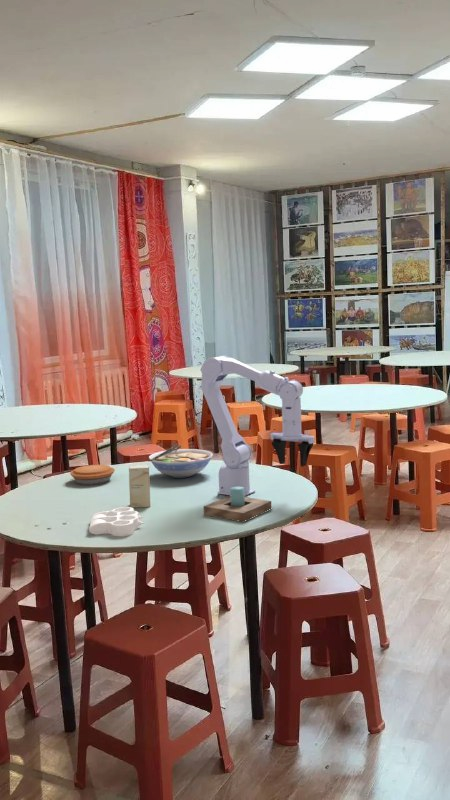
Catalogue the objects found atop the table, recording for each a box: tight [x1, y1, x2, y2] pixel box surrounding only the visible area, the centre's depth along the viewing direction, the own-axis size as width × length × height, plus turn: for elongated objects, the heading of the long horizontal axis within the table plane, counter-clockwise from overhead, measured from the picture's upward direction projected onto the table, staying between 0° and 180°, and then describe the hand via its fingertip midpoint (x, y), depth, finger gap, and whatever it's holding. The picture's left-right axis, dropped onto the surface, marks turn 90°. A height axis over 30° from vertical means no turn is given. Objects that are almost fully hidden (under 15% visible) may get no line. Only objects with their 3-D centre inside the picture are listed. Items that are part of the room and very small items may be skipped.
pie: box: [69, 464, 116, 486], centre depth 252 cm, size 15×16×5 cm
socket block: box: [203, 495, 273, 522], centre depth 208 cm, size 14×14×2 cm
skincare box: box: [128, 464, 151, 508], centre depth 218 cm, size 6×4×12 cm
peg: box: [230, 487, 246, 508], centre depth 207 cm, size 4×4×7 cm
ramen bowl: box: [148, 444, 214, 479], centre depth 255 cm, size 25×23×8 cm
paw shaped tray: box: [88, 506, 144, 537], centre depth 198 cm, size 3×18×15 cm
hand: (292, 464), depth 219 cm, fingers open, 7 cm apart
